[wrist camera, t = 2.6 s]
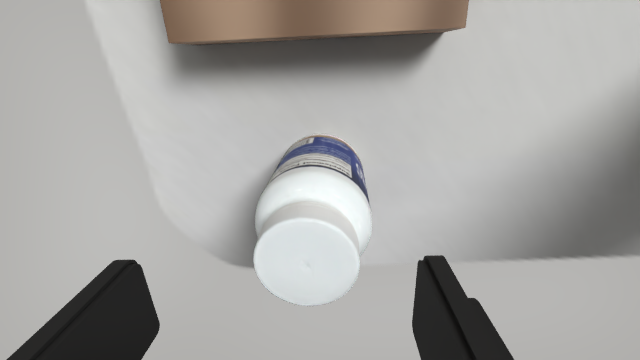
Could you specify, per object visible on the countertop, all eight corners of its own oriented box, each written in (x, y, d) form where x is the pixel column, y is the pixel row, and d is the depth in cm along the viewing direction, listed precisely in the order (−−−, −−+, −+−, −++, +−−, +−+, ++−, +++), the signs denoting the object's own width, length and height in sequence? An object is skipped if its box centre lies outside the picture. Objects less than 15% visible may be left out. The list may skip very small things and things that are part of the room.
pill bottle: (354, 213, 21) (363, 330, 12) (278, 200, 21) (231, 309, 12) (370, 138, 19) (396, 214, 10) (286, 125, 19) (236, 188, 10)
